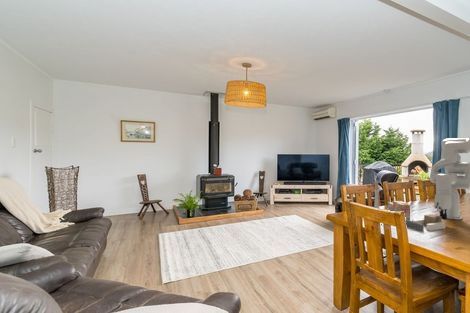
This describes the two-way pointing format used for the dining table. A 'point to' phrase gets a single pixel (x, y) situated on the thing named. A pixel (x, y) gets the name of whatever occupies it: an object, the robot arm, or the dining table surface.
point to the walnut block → (432, 219)
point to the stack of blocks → (400, 207)
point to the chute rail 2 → (435, 226)
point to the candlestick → (376, 195)
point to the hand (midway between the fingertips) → (443, 219)
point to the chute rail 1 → (419, 221)
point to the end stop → (415, 225)
